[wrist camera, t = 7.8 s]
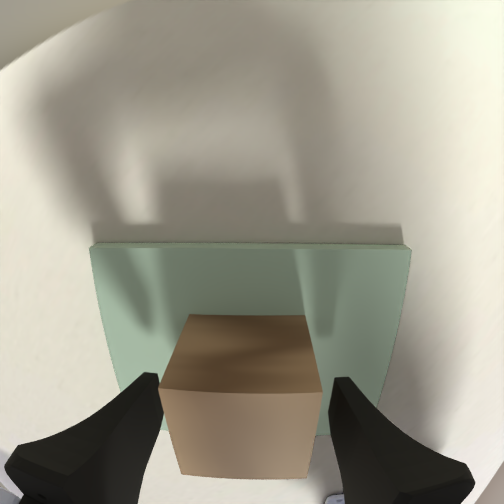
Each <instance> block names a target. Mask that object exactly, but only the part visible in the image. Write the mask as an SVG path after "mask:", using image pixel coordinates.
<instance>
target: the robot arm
mask: <svg viewBox="0 0 504 504" xmlns="http://www.w3.org/2000/svg"><path fill="white" fill-rule="evenodd" d="M159 384H160V382H159V377H158V373H150V372H143V373H142V374H141V375H140V376H139V377H138V378H137V379H135V380H134V381H133V382H132V383H131V384H130V385H129V386H128V387H127V388H126V389H124V390H123V391H122V392H121V393H120V394H119V395H118V396H116V397H115V398H114V399H113V400H112V401H110V402H109V403H108V404H106V405H105V406H104V407H103V408H101V409H100V410H99V411H97V412H96V413H94V414H93V415H91V416H90V417H88V418H87V419H85V420H83V421H82V422H80V423H78V424H76V425H74V426H72V427H70V428H68V429H66V430H64V431H62V432H60V433H57V434H55V435H52V436H50V437H47V438H44V439H41V440H37V441H34V442H30V443H25V444H21V445H18V446H17V447H16V449H15V450H14V452H13V453H12V455H11V456H10V458H9V459H8V461H7V462H6V464H5V466H4V468H5V471H6V473H7V475H8V476H9V477H10V479H11V480H12V481H13V482H14V483H15V485H16V486H17V487H18V488H19V489H20V490H21V492H22V493H23V494H24V495H23V497H22V499H20V498H19V497H18V496H16V495H15V494H13V493H11V492H10V491H8V490H6V489H4V488H2V487H0V504H138V499H139V494H140V489H141V484H142V480H143V476H144V472H145V469H146V466H147V463H148V461H149V458H150V455H151V453H152V450H153V447H154V445H155V442H156V439H157V437H158V434H159V431H160V428H161V425H162V420H163V416H164V411H163V407H162V403H161V399H160V395H159V390H158V387H159ZM328 418H329V427H330V434H331V438H332V442H333V445H334V449H335V453H336V457H337V461H338V465H339V469H340V473H341V478H342V483H343V492H344V494H340V495H332V496H329V497H328V498H327V499H326V502H325V504H461V503H462V501H463V500H464V499H465V498H466V497H467V496H468V495H469V494H470V492H471V491H472V489H473V488H474V485H475V480H474V478H473V476H472V474H471V472H470V470H469V468H468V467H467V465H466V464H465V463H462V462H459V461H457V460H454V459H451V458H448V457H446V456H443V455H441V454H439V453H437V452H435V451H433V450H431V449H429V448H427V447H425V446H424V445H422V444H420V443H419V442H417V441H415V440H414V439H412V438H411V437H409V436H408V435H406V434H405V433H404V432H403V431H401V430H400V429H399V428H397V427H396V426H395V425H394V424H392V423H391V422H390V421H389V420H388V419H387V418H386V417H385V416H384V415H383V414H382V413H381V412H380V411H379V410H378V409H377V408H376V407H375V406H374V405H373V404H372V403H371V402H370V401H369V400H368V398H367V397H366V396H365V395H364V394H363V393H362V391H361V390H360V389H359V388H358V387H357V385H356V384H355V383H354V382H353V381H352V379H351V378H350V377H334V382H333V388H332V393H331V398H330V404H329V409H328Z"/></svg>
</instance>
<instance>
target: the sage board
mask: <svg viewBox="0 0 504 504" xmlns="http://www.w3.org/2000/svg"><path fill="white" fill-rule="evenodd" d="M89 251H90V258H91V265H92V271H93V277H94V283H95V288H96V294H97V299H98V304H99V309H100V314H101V319H102V323H103V328H104V332H105V336H106V340H107V344H108V348H109V352H110V356H111V360H112V364H113V367H114V371H115V374H116V378H117V381H118V385H119V388H120V391H121V392H122V391H123V390H124V389H126V388H127V387H128V386H129V385H130V384H131V383H132V382H133V381H134V380H135V379H137V378H138V377H139V376H140V375H141V374H142V373H143V372H150V373H158V377H159V382H161V379H162V377H163V375H164V372H165V370H166V368H167V365H168V363H169V360H170V358H171V356H172V353H173V351H174V349H175V346H176V344H177V342H178V339H179V337H180V335H181V332H182V330H183V328H184V325H185V323H186V321H187V318H188V316H189V314H202V315H305V316H306V320H307V325H308V329H309V333H310V337H311V342H312V346H313V350H314V355H315V359H316V363H317V368H318V372H319V377H320V381H321V386H322V390H323V395H322V401H321V407H320V413H319V419H318V424H317V430H316V435H315V436H318V435H331V434H330V427H329V418H328V409H329V404H330V398H331V393H332V388H333V382H334V377H350V378H351V379H352V381H353V382H354V383H355V384H356V385H357V387H358V388H359V389H360V390H361V391H362V393H363V394H364V395H365V396H366V397H367V398H368V400H369V401H370V402H371V403H372V404H373V405H374V406H375V407H376V408H377V405H378V402H379V398H380V395H381V392H382V388H383V385H384V381H385V378H386V374H387V371H388V367H389V363H390V359H391V355H392V351H393V347H394V343H395V339H396V334H397V330H398V325H399V321H400V316H401V311H402V306H403V301H404V295H405V290H406V284H407V278H408V272H409V265H410V258H411V251H412V250H411V249H410V248H408V247H407V246H405V245H386V244H305V243H96V244H94V245H93V246H91V247H89ZM160 430H167V431H169V430H168V426H167V423H166V419H165V415H164V416H163V420H162V425H161V428H160Z"/></svg>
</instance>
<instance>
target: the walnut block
mask: <svg viewBox="0 0 504 504" xmlns="http://www.w3.org/2000/svg"><path fill="white" fill-rule="evenodd" d="M158 390H159V395H160V399H161V403H162V407H163V411H164V415H165V419H166V423H167V426H168V430H169V434H170V437H171V441H172V444H173V448H174V451H175V455H176V458H177V461H178V464H179V468H180V471H181V474H183V475H192V476H202V477H214V478H230V479H301V478H307V474H308V470H309V465H310V460H311V455H312V450H313V445H314V440H315V435H316V430H317V424H318V419H319V413H320V407H321V401H322V395H323V390H322V386H321V381H320V377H319V372H318V368H317V363H316V359H315V355H314V350H313V346H312V342H311V337H310V333H309V329H308V325H307V320H306V316H305V315H202V314H189V316H188V318H187V321H186V323H185V325H184V328H183V330H182V332H181V335H180V337H179V339H178V342H177V344H176V346H175V349H174V351H173V353H172V356H171V358H170V360H169V363H168V365H167V368H166V370H165V372H164V375H163V377H162V379H161V382H160V384H159V387H158Z"/></svg>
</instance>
